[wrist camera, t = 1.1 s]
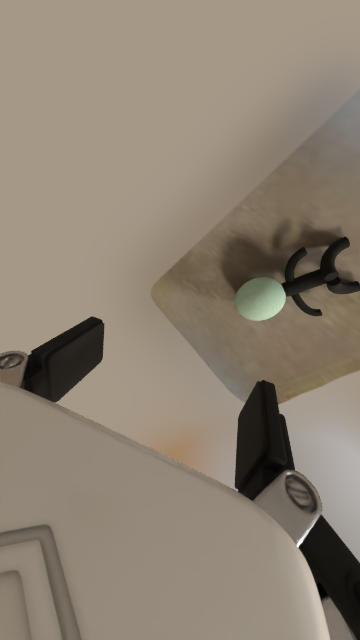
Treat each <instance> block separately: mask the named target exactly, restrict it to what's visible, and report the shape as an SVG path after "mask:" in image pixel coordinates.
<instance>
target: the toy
mask: <svg viewBox="0 0 360 640" xmlns="http://www.w3.org/2000/svg"><path fill="white" fill-rule="evenodd" d="M349 246H350V243H349V240H348V238H347V237H344V238H341V239H339V240H338V241H336V242H335V243H333V244H332V245H331V246H330V247H329V248H328V249H327V250H326V251H325V253H324V254H323V256H322V259H321V263H320V269H318V270H316V271H313V272H310V273H308V274H305V275H302V276H300V277H297V278H295V279H294V269H295V266H296V264H297V262H298V261H299V260H300V259H301V258H302V257H304V256H305V255H307V251H306V249H305V247H303V248H301V249H299V250H298V251H296V252H295V253H294V254H293V255H292V256H291V258H290V259H289V261H288V263H287V265H286V269H285V280H286V282H284V283H282V284H280V283H279V282H278V281H276V280H274V279H272V278H267V277H259V278H254V279H252V280H250V281H247V282H246V283H245V284H243V285H242V286H241V287H240V288H239V290H238V292H237V293H236V296H235V307H236V309H237V311H238V312H239V314H240V315H242V316H243V317H245V318H246V319H249V320H255V321H259V320H265V319H268V318H271V317H273V316H274V315H276V314H277V313H278V312H279V311H280V310H281V309H282V307H283V305H284V303H285V299H286V296H292V298H293V300H294V302H295V303H296V305H297V306H298V307H299V308H300V309H301V310H302V311H304V312H305V313H307V314H309V315H312V316H322V312H321V310H320V309H312V308H310V307H309V306H307V305H306V304H305V303H304V301H303V300H302V298H301V297H300V295H299V293H300V292H302V291H305V290H308V289H311V288H314V287H317V286H319V285H322V284H325V283H327V287H328V289H329V290H330V291H331V292H333V293H336V294H348V293H353V292H357V291H360V284H359V283H358V282H357V281H355V282H351V283H346V284H341V283H340V282H341V279H340V278H339V277H338V272H337V271H336V268H335V265H334V262H335V258H336V256H337V255H338V254H339V253H340V252H341V251H342V250H344V249H346V248H348V247H349Z"/></svg>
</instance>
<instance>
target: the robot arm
mask: <svg viewBox="0 0 360 640" xmlns="http://www.w3.org/2000/svg"><path fill="white" fill-rule="evenodd" d="M103 340H104V323H103V322H102V320H101V319H98V318H96V317H90V318H88V319H87V320H85V321H83V322H81V323H80V324H78V325H76V326H74V327H73V328H71V329H69V330H67V331H65V332H64V333H62V334H60V335H59V336H57V337H55V338H53V339H51V340H50V341H48V342H46V343H44V344H43V345H41V346H39V347H38V348H36V349H34V350H32V351H31V354H30V355H27V354H26V353H24V352H21V351H9V352H5V353H2V354H0V640H360V563H359V561H358V560H357V559H356V558H355V556H354V555H353V554H352V553H351V551H350V550H349V549H348V547H347V546H346V545H345V544H344V542H343V541H342V540H341V539H340V537H339V536H338V535H337V534H336V532H335V531H334V530H333V529H332V527H331V526H330V525H329V524H328V522H327V521H326V520H325V518H324V517H323V516H322V515H321V512H322V502H321V499H320V496H319V494H318V492H317V490H316V489H315V487H314V486H313V485H312V483H311V482H310V481H309V480H308V479H307V478H306V477H305V476H304V475H302V474H300V473H299V472H297V471H295V467H294V462H293V457H292V451H291V446H290V441H289V436H288V431H287V426H286V420H285V417H284V416H283V415H282V414H279V408H278V402H277V396H276V390H275V385H274V384H273V383H270V382H267V381H265V380H262V381H261V382H259V381H258V382H257V383H256V385H255V387H254V389H253V390H252V392H251V394H250V396H249V398H248V400H247V401H246V403H245V405H244V407H243V409H242V411H241V412H240V415H239V418H238V433H237V452H236V471H235V472H236V473H235V488H236V489H238V492H237V491H235V490H234V489H232V488H230V487H228V486H226V485H224V484H223V483H221V482H219V481H217V480H215V479H213V478H211V477H209V476H207V475H205V474H203V473H201V472H199V471H197V470H195V469H193V468H191V467H189V466H187V465H184V464H182V463H180V462H178V461H176V460H174V459H172V458H170V457H168V456H166V455H164V454H162V453H160V452H157V451H155V450H153V449H151V448H149V447H147V446H145V445H143V444H141V443H139V442H137V441H134V440H132V439H130V438H128V437H126V436H124V435H122V434H120V433H118V432H115V431H113V430H111V429H109V428H107V427H105V426H102V425H101V424H98V423H96V422H94V421H92V420H90V419H88V418H86V417H84V416H81V415H79V414H77V413H75V412H73V411H71V410H69V409H66V408H64V407H62V406H60V405H58V404H55V403H54V402H57V401H59V400H60V399H61V398H62V397H63V396H64V395H65V394H66V393H67V392H69V391H70V390H71V389H72V388H73V387H74V386H75V385H76V384H77V383H78V382H79V381H81V380H82V379H83V378H84V377H85V376H86V375H87V374H88V373H89V372H90V371H91V370H93V369H94V368H95V367H96V366H97V365H98V364H99V363H100V362H101V360H102V358H103Z"/></svg>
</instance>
